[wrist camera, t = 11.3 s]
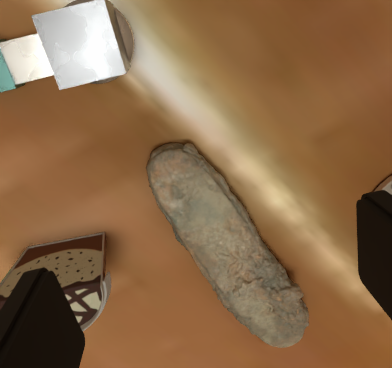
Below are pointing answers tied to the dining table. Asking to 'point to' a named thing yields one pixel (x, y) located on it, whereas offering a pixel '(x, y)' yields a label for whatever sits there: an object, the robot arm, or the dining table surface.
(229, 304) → the elongated rock
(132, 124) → the dining table surface
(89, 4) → the brushed metal cube
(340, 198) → the dining table surface
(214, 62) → the dining table surface
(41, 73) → the ratchet
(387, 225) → the robot arm
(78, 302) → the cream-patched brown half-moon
